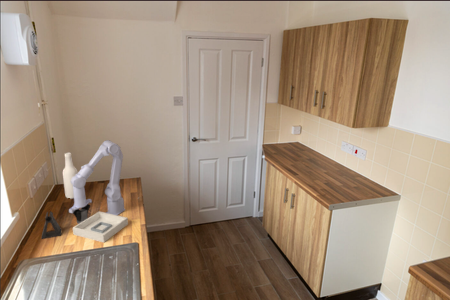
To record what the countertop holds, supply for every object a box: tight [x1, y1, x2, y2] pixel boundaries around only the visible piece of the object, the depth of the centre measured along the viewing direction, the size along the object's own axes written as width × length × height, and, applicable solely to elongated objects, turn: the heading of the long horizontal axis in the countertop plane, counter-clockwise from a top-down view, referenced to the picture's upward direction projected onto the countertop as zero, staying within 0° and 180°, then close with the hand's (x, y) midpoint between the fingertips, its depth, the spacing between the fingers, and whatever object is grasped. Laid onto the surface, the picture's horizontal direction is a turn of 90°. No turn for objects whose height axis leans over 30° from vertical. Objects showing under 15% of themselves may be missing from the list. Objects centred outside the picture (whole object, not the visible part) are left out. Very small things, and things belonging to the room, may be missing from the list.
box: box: [72, 211, 129, 243], centre depth 166 cm, size 20×20×4 cm
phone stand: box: [40, 211, 62, 240], centre depth 159 cm, size 9×6×12 cm, turn 115°
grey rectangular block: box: [76, 208, 89, 224], centre depth 172 cm, size 4×4×7 cm
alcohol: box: [62, 152, 79, 200], centre depth 201 cm, size 9×9×30 cm
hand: (82, 219), depth 173 cm, fingers closed on grey rectangular block, 4 cm apart
